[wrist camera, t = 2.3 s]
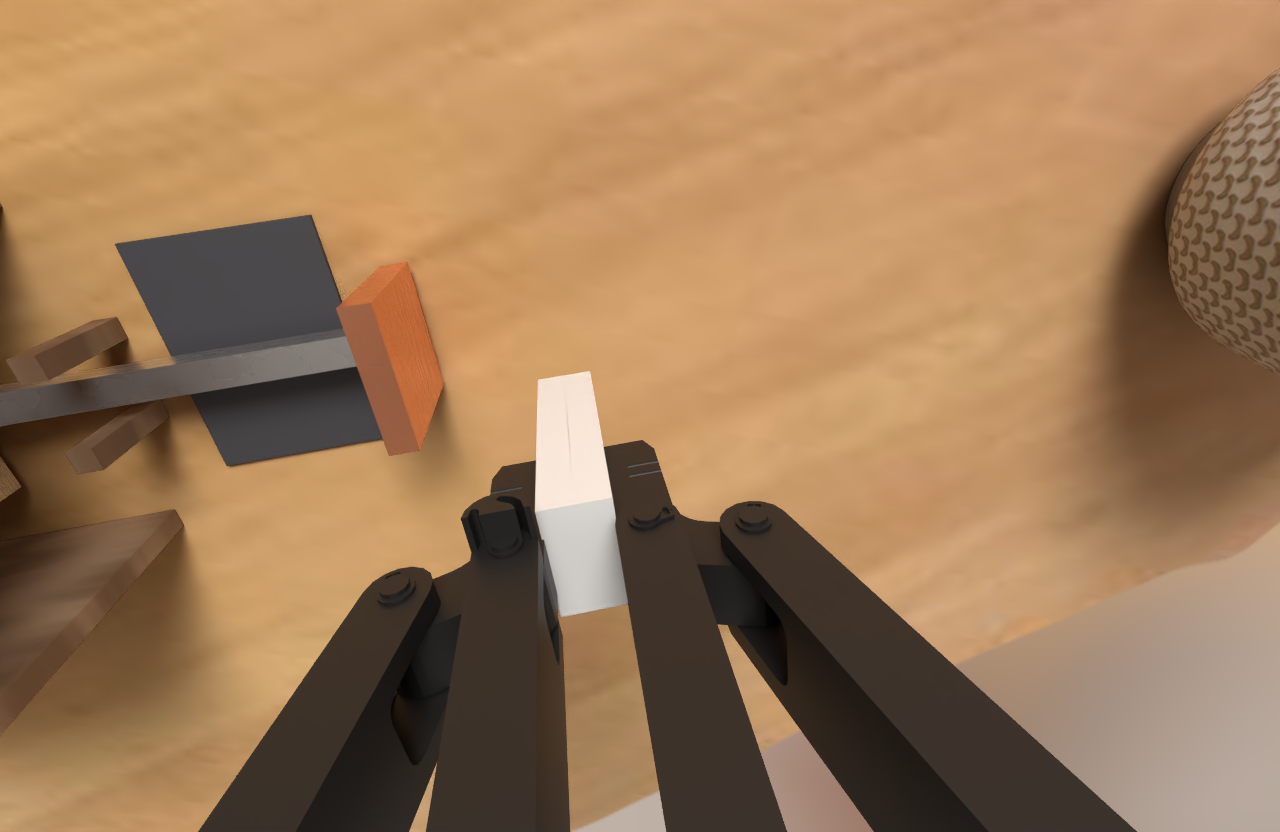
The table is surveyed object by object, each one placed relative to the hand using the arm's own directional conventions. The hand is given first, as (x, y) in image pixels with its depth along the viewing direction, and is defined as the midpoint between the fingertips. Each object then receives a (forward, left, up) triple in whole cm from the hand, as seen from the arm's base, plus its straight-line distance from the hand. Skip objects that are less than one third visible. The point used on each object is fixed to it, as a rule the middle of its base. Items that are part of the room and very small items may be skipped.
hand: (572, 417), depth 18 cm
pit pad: (-14, 0, -13) cm, 19 cm away
